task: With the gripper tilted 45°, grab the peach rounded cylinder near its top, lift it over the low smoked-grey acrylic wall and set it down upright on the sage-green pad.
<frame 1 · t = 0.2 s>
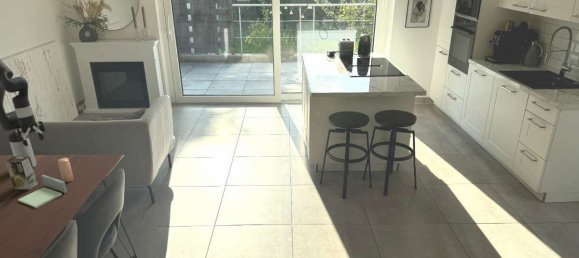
hand: (34, 142, 213), 18 cm above the table, tool pointing down, fingers open, 8 cm apart
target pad: (40, 198, 194), on the table
coffee box: (26, 186, 205), on the table
peach rounded cylinder: (68, 179, 210), on the table
low wall: (55, 188, 202), on the table
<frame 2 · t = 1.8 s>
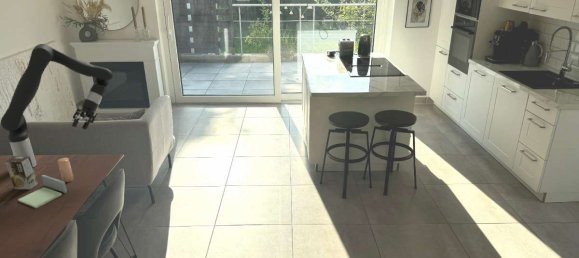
hand: (78, 127, 212), 25 cm above the table, tool tilted 45°, fingers open, 8 cm apart
nothing on the table moved.
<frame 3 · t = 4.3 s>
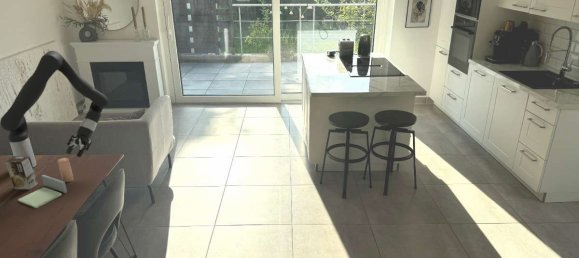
hand: (73, 155, 210), 12 cm above the table, tool tilted 45°, fingers open, 8 cm apart
nothing on the table moved.
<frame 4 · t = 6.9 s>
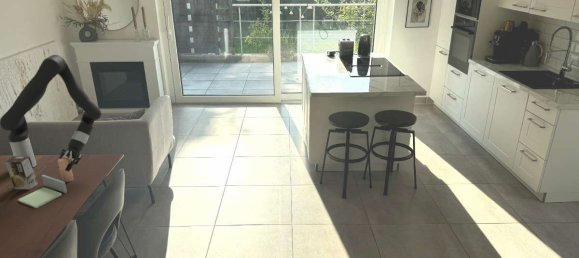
hand: (63, 169, 207), 7 cm above the table, tool tilted 45°, fingers closed on peach rounded cylinder, 5 cm apart
peach rounded cylinder: (68, 179, 210), on the table, touching gripper
everything else where it was.
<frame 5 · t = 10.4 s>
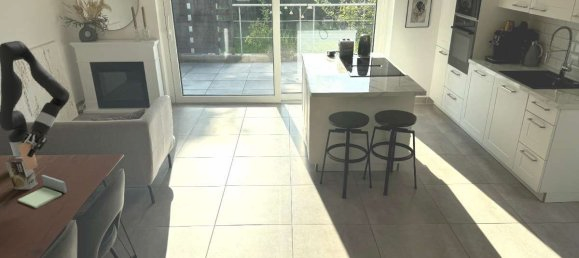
hand: (25, 155, 184), 24 cm above the table, tool tilted 45°, fingers closed on peach rounded cylinder, 5 cm apart
peach rounded cylinder: (31, 167, 187), point 17 cm above the table, touching gripper
everything else where it was.
when the fingers open (9 cm above the table, at t = 14.0 s): peach rounded cylinder drops 1 cm, resting on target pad.
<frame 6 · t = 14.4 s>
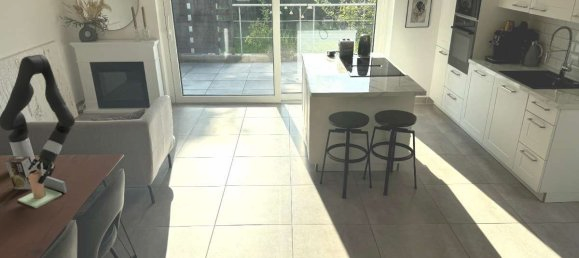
hand: (34, 181, 189), 10 cm above the table, tool tilted 45°, fingers open, 8 cm apart
peach rounded cylinder: (40, 196, 193), point 1 cm above the table, touching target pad
everything else where it was.
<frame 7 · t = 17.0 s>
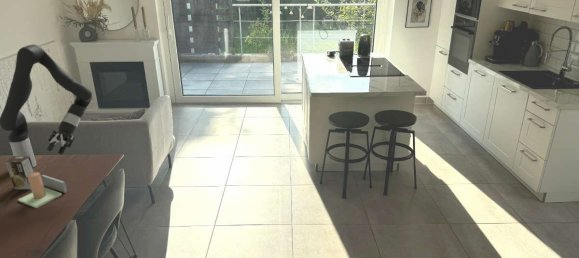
hand: (54, 152, 197), 20 cm above the table, tool tilted 45°, fingers open, 8 cm apart
nothing on the table moved.
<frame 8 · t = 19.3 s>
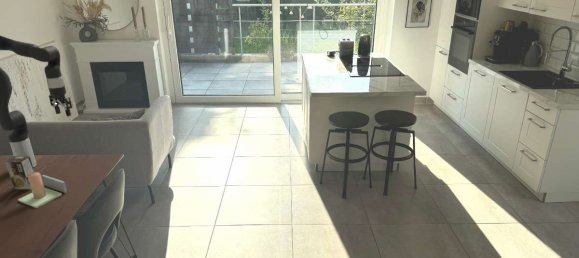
hand: (63, 114, 208), 33 cm above the table, tool pointing down, fingers open, 8 cm apart
nothing on the table moved.
at the end: peach rounded cylinder inside the target area on the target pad (0.2 cm from its centre), point 1.0 cm above the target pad's base; peach rounded cylinder tilted 0°; the gripper is holding nothing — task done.
